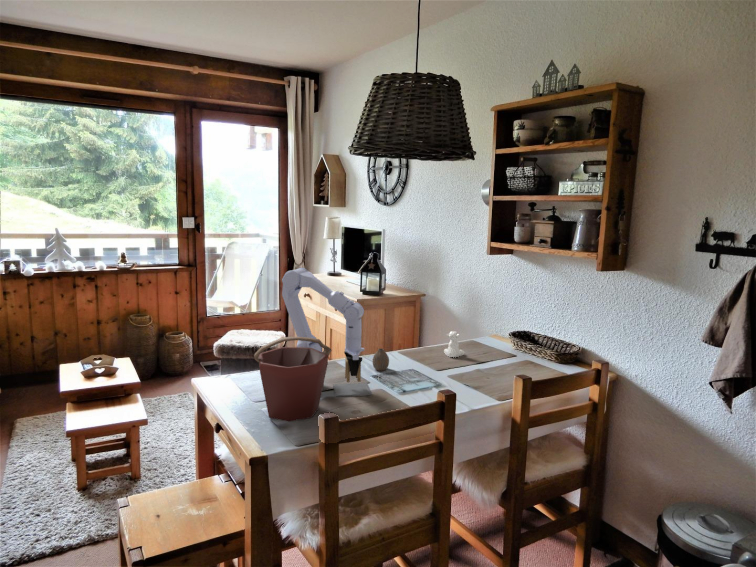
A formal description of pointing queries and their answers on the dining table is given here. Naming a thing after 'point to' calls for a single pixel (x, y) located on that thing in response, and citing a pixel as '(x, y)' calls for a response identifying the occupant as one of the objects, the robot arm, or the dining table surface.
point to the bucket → (292, 378)
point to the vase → (380, 360)
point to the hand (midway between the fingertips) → (352, 373)
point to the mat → (352, 389)
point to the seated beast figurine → (453, 345)
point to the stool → (347, 371)
